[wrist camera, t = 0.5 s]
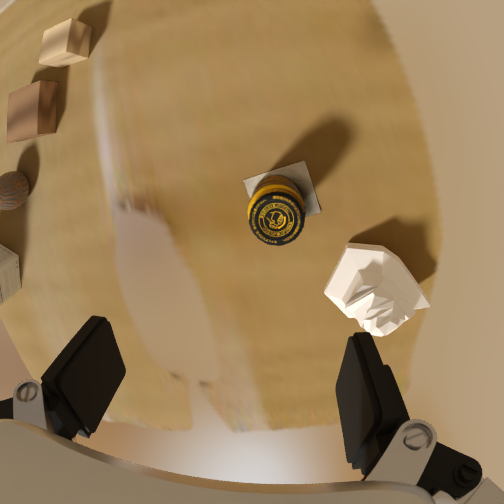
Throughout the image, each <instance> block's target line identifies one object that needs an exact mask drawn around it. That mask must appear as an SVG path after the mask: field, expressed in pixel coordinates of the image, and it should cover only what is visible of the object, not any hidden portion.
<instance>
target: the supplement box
mask: <svg viewBox="0 0 504 504" xmlns="http://www.w3.org/2000/svg"><path fill="white" fill-rule="evenodd" d="M20 289H21V282H20V271H19V256H18V254H16V253H14V252H13V251H11V250H9V249H8V248H6V247H4V246H3V245H1V244H0V306H1V305H2V304H3V303H4V302H5V301H6V300H8V299H9V298H10V297H11V296H12V295H14V294H15V293H16V292H17V291H19V290H20Z"/></svg>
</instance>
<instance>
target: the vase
mask: <svg viewBox="0 0 504 504" xmlns="http://www.w3.org/2000/svg"><path fill="white" fill-rule="evenodd" d="M28 193H29V182H28V180H27V178H26V177H25V175H24V174H22V173H21V172H17V171H11V172H7V173H5V174H3V175H2V176H0V209H2V210H13V209H15V208H17V207H19V206H20V205H22V204H23V203H24V201H25V200H26V198H27V196H28Z"/></svg>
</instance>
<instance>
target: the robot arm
mask: <svg viewBox="0 0 504 504" xmlns="http://www.w3.org/2000/svg"><path fill="white" fill-rule="evenodd" d="M125 373H126V368H125V365H124V363H123V360H122V357H121V354H120V351H119V349H118V346H117V343H116V340H115V337H114V334H113V330H112V327H111V324H110V322H109V321H107V319H106V318H105V317H100V316H91V317H90V318H89V320H88V321H87V322H86V323H85V324H84V325H83V326H82V328H81V329H80V330H79V331H78V332H77V334H76V335H75V336H74V337H73V338H72V339H71V341H70V342H69V343H68V344H67V345H66V347H65V348H64V349H63V350H62V352H61V353H60V354H59V355H58V357H57V358H56V359H55V360H54V362H53V363H52V364H51V365H50V367H49V368H48V369H47V370H46V372H45V373H44V374H43V376H42V377H41V380H42V381H43V382H42V384H40V383H39V382H38V381H36V380H33V379H29V380H25V381H22V382H21V383H19V384H18V385H17V387H16V388H15V390H14V393H13V398H9V399H6V400H3V401H0V504H504V492H503V491H502V490H501V489H500V488H499V487H498V486H497V485H496V484H494V483H493V482H492V481H491V480H490V479H489V478H486V479H484V478H483V477H482V468H481V466H480V464H479V463H478V461H476V460H475V459H473V458H471V457H469V456H467V455H464V454H462V453H459V452H458V451H455V450H453V449H451V448H449V447H447V446H445V445H443V444H441V443H439V442H437V434H436V431H435V429H434V428H433V427H432V426H431V424H429V423H428V422H426V421H423V420H420V419H419V420H418V419H413V420H410V418H409V415H408V412H407V409H406V407H405V404H404V401H403V399H402V396H401V393H400V391H399V388H398V385H397V383H396V380H395V378H394V375H393V373H392V370H391V368H390V366H389V365H383V363H382V360H381V358H380V355H379V353H378V350H377V348H376V345H375V343H374V340H373V338H372V336H371V333H370V332H356V333H354V335H353V336H350V337H349V338H348V342H347V346H346V350H345V354H344V358H343V361H342V365H341V369H340V372H339V376H338V379H337V383H336V397H337V402H338V408H339V414H340V420H341V425H342V432H343V438H344V445H345V452H346V458H347V462H348V463H352V468H353V469H361V472H362V474H363V475H364V477H363V478H362V480H361V481H351V482H335V483H321V484H254V483H239V482H229V481H219V480H212V479H205V478H199V477H192V476H187V475H181V474H176V473H171V472H167V471H162V470H158V469H154V468H150V467H146V466H142V465H139V464H135V463H132V462H128V461H125V460H122V459H119V458H115V457H113V456H109V455H107V454H104V453H101V452H98V451H95V450H93V449H90V448H88V447H85V446H83V445H80V444H78V443H77V441H76V437H75V436H76V434H77V433H78V434H79V435H81V436H84V437H86V438H89V437H90V435H91V433H94V432H95V431H96V429H97V427H98V425H99V423H100V421H101V419H102V417H103V415H104V414H105V412H106V410H107V408H108V406H109V404H110V402H111V400H112V398H113V396H114V395H115V393H116V391H117V389H118V387H119V385H120V384H121V382H122V380H123V378H124V376H125Z"/></svg>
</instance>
